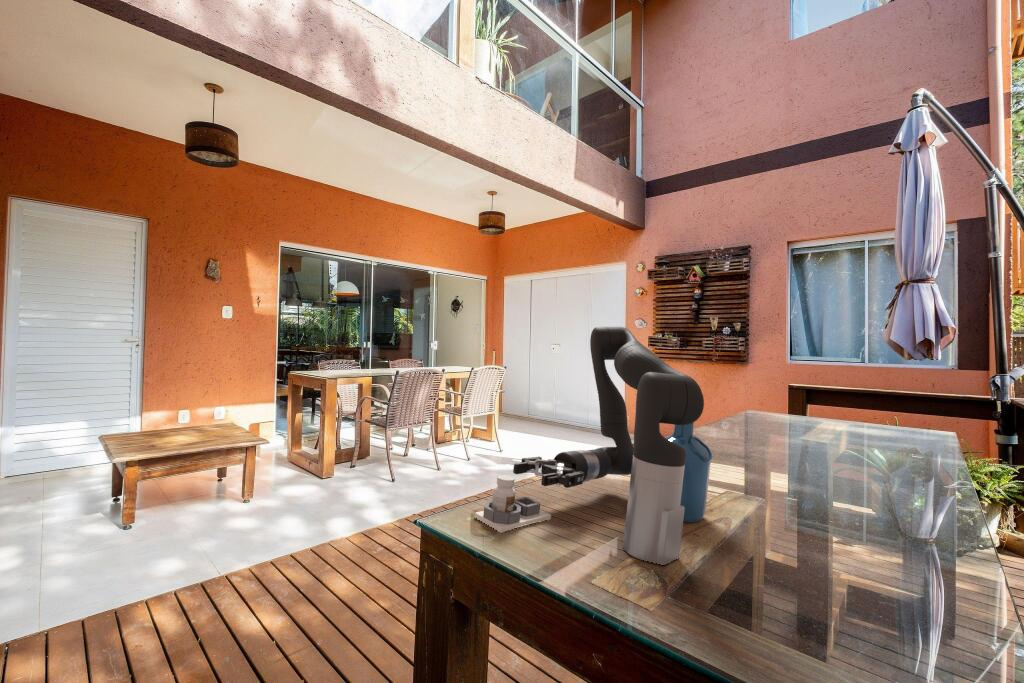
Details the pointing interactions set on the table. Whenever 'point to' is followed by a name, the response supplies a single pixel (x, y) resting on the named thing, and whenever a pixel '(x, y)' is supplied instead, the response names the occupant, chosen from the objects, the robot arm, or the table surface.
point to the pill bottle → (504, 494)
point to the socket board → (513, 515)
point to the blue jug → (693, 472)
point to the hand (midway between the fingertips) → (528, 474)
